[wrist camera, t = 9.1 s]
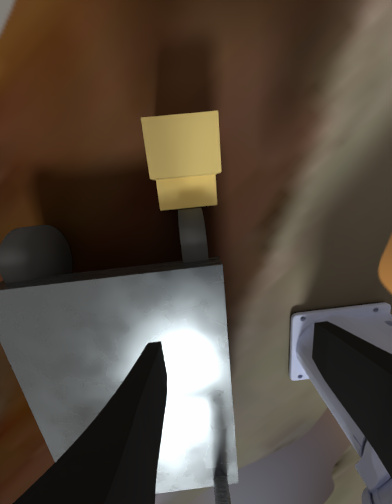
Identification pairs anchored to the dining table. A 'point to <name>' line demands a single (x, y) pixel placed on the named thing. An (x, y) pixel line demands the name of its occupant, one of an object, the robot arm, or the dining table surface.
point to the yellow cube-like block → (183, 158)
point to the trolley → (123, 346)
